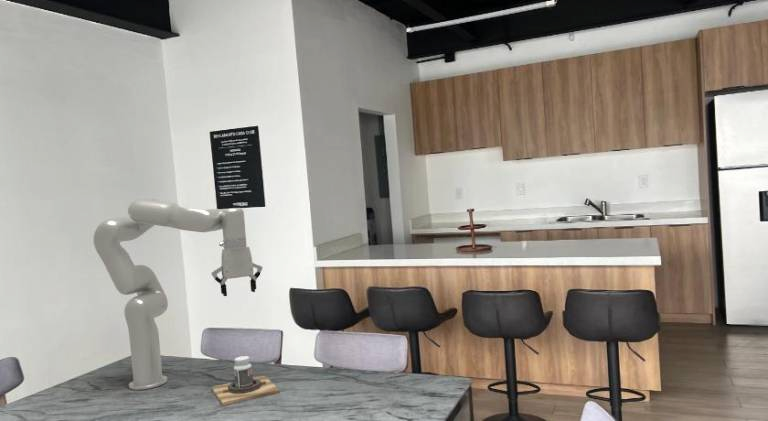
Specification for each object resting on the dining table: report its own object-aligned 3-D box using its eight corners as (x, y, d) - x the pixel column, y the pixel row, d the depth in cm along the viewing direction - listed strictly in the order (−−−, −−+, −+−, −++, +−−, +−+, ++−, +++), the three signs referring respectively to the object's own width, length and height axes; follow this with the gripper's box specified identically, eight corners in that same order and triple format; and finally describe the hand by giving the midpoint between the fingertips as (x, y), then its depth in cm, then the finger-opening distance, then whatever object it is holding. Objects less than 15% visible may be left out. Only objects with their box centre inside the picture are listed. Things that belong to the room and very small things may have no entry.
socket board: (211, 389, 192) (211, 382, 191) (264, 378, 200) (264, 371, 200) (222, 405, 175) (221, 397, 175) (279, 392, 183) (279, 385, 183)
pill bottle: (256, 385, 190) (254, 355, 189) (248, 391, 184) (245, 360, 184) (240, 385, 191) (238, 355, 191) (232, 391, 185) (229, 360, 185)
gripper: (211, 247, 190) (215, 298, 191) (262, 242, 198) (266, 291, 198) (207, 246, 197) (211, 296, 197) (257, 241, 205) (261, 288, 205)
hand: (239, 293), depth 198 cm, fingers open, 9 cm apart
